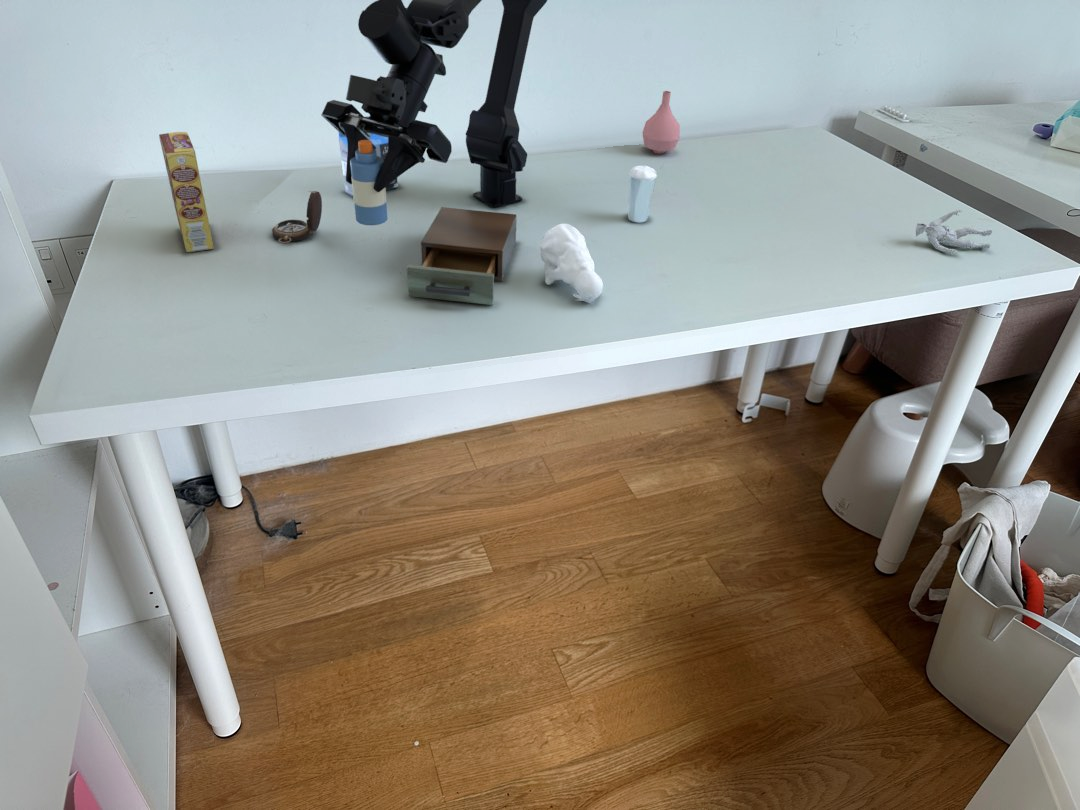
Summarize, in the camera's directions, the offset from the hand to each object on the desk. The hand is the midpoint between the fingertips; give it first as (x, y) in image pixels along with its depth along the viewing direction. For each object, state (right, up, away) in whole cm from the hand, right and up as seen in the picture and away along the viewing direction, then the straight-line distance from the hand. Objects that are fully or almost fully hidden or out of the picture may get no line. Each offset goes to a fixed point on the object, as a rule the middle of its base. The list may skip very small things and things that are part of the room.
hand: (362, 186), depth 108 cm
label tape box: (-6, +8, +33) cm, 35 cm away
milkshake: (+42, +2, +29) cm, 51 cm away
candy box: (-29, -4, +15) cm, 33 cm away
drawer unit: (+14, -7, +14) cm, 21 cm away
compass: (-14, -3, +17) cm, 23 cm away
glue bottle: (0, -3, +4) cm, 5 cm away
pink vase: (+49, +23, +56) cm, 78 cm away
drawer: (+13, -12, +7) cm, 19 cm away
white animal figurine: (+29, -13, +7) cm, 33 cm away
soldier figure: (+94, -3, +26) cm, 97 cm away
